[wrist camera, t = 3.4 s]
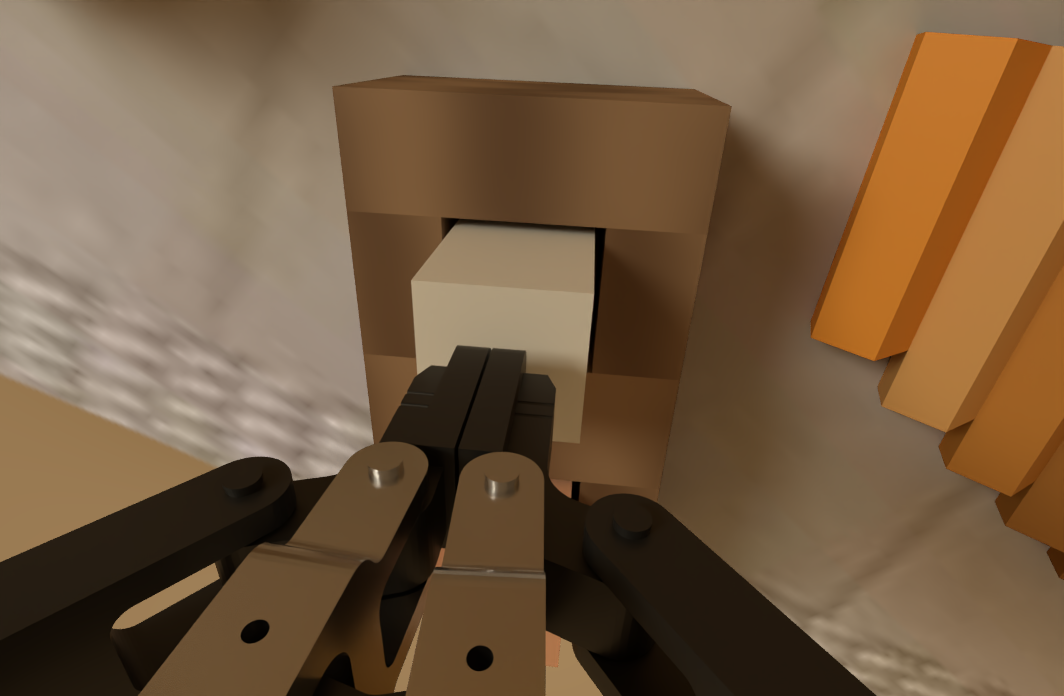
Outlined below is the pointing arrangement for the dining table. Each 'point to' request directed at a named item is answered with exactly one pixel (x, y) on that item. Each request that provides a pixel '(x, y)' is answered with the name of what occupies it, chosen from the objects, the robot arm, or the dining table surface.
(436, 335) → the beige rectangular block
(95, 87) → the dining table surface
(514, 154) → the board
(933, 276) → the pan flute
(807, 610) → the dining table surface
